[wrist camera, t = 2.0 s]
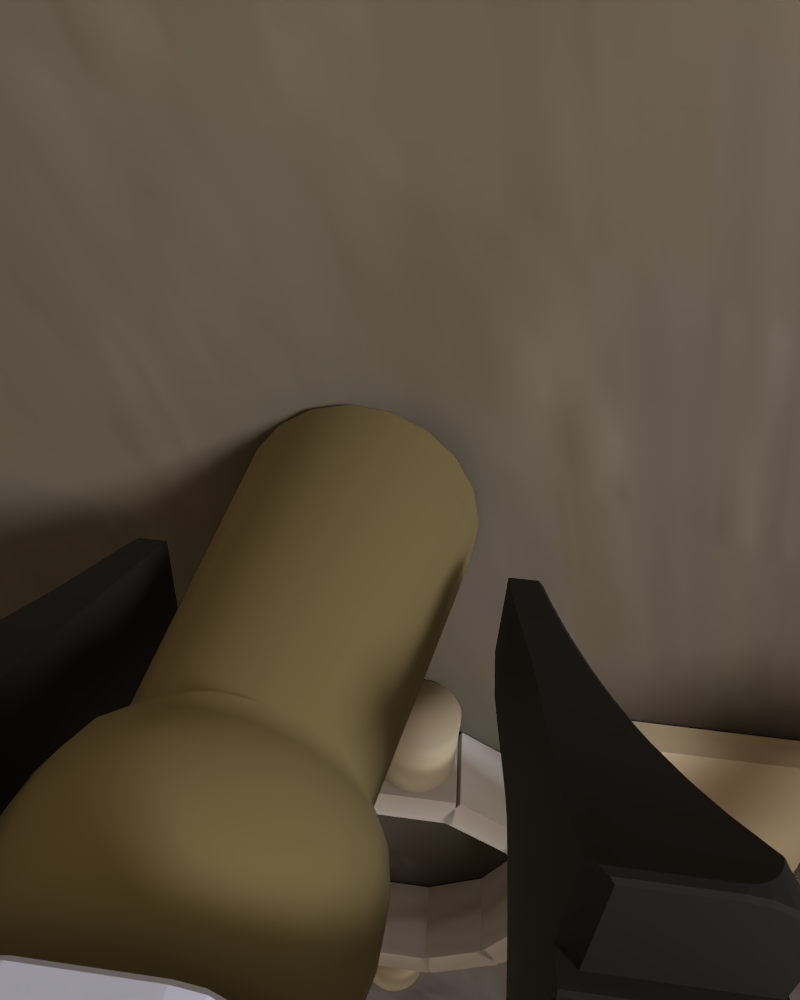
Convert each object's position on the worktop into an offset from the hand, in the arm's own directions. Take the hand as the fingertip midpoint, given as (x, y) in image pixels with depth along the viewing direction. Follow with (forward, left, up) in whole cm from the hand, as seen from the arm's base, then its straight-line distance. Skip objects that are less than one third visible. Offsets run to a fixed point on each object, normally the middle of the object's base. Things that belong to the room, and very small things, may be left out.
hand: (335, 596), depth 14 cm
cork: (0, 0, -3) cm, 3 cm away
